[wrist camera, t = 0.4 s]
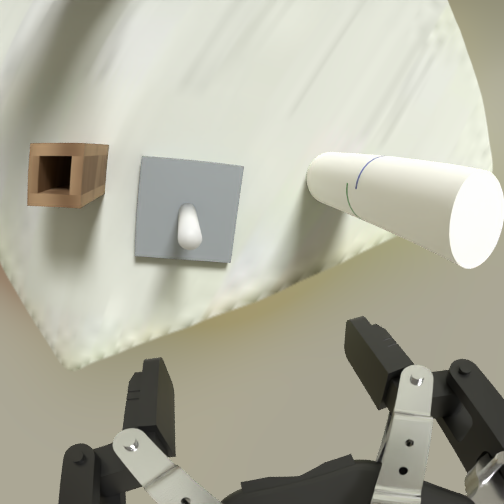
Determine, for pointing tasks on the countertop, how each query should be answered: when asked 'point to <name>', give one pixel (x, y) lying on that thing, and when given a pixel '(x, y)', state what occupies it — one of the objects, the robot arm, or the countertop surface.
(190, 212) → the post stand
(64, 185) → the collar
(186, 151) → the countertop surface
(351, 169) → the cylindrical container
